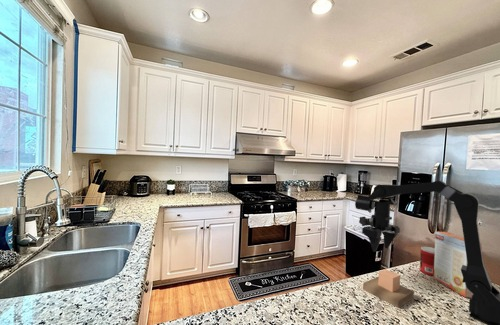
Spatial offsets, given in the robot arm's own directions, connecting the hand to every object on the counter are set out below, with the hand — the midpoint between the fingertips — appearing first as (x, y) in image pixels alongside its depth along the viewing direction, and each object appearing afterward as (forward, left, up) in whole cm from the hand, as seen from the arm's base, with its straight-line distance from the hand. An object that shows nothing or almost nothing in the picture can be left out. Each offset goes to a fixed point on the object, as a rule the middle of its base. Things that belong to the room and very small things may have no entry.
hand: (380, 249), depth 90 cm
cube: (-8, +9, -10) cm, 15 cm away
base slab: (-8, +9, -13) cm, 17 cm away
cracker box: (-18, -22, -12) cm, 31 cm away
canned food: (-8, -28, -12) cm, 32 cm away
